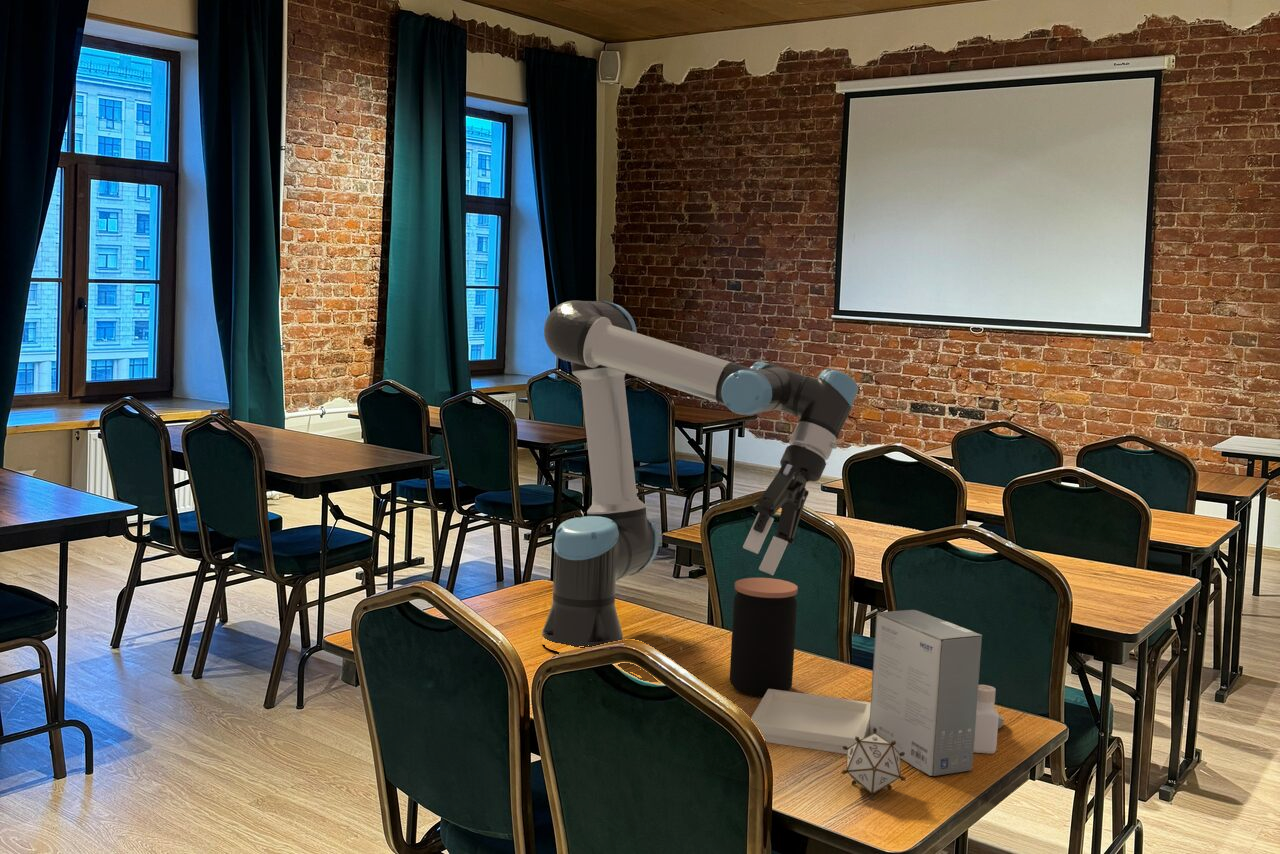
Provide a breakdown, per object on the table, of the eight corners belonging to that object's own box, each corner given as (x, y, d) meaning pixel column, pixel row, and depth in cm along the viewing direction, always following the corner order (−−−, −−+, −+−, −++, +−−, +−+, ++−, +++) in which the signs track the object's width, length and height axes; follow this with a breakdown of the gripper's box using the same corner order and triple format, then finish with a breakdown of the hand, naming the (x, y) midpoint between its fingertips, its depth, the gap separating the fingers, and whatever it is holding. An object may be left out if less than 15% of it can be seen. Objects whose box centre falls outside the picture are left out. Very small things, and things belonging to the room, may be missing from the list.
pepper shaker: (969, 753, 172) (974, 691, 171) (963, 743, 176) (968, 682, 175) (996, 755, 172) (1001, 693, 171) (990, 745, 176) (995, 684, 175)
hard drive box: (974, 772, 165) (985, 635, 163) (931, 779, 162) (941, 639, 160) (906, 733, 180) (915, 607, 177) (865, 739, 176) (874, 610, 174)
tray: (747, 739, 174) (748, 723, 174) (767, 703, 190) (768, 688, 190) (861, 756, 169) (863, 739, 169) (872, 718, 186) (873, 703, 185)
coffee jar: (805, 692, 197) (811, 588, 195) (758, 703, 190) (764, 595, 188) (761, 674, 205) (767, 574, 203) (716, 684, 199) (721, 581, 197)
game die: (884, 820, 157) (930, 776, 152) (834, 804, 154) (878, 759, 149) (868, 765, 164) (911, 722, 160) (819, 750, 161) (862, 705, 156)
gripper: (816, 433, 192) (763, 548, 187) (837, 483, 214) (790, 588, 209) (775, 419, 195) (722, 532, 190) (800, 470, 217) (753, 572, 212)
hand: (758, 561), depth 200 cm, fingers open, 13 cm apart
